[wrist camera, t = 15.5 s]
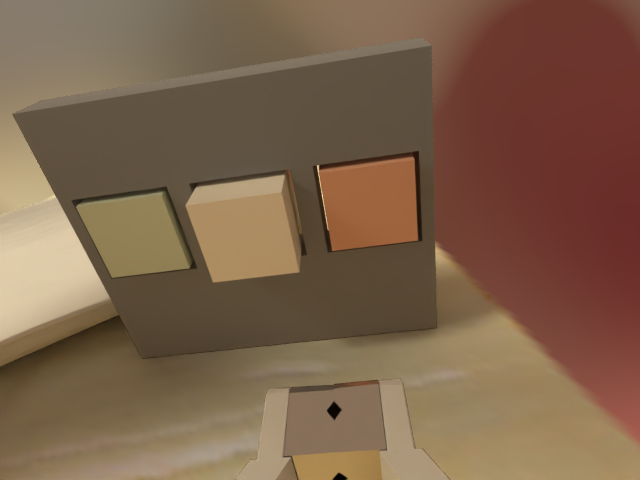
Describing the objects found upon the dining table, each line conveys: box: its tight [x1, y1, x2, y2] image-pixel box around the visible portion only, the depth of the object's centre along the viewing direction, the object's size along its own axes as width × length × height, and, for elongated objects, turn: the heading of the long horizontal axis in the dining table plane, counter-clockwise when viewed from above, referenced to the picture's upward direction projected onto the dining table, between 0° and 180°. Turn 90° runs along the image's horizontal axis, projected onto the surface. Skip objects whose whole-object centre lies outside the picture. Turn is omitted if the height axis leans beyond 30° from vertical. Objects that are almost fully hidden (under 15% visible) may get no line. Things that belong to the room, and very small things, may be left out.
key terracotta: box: [319, 152, 418, 251], centre depth 25 cm, size 5×4×5 cm
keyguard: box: [13, 38, 437, 358], centre depth 28 cm, size 20×7×17 cm, turn 89°
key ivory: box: [185, 169, 303, 283], centre depth 24 cm, size 5×4×5 cm
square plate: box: [0, 197, 119, 367], centre depth 40 cm, size 27×27×4 cm
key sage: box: [76, 187, 194, 278], centre depth 26 cm, size 5×4×5 cm
